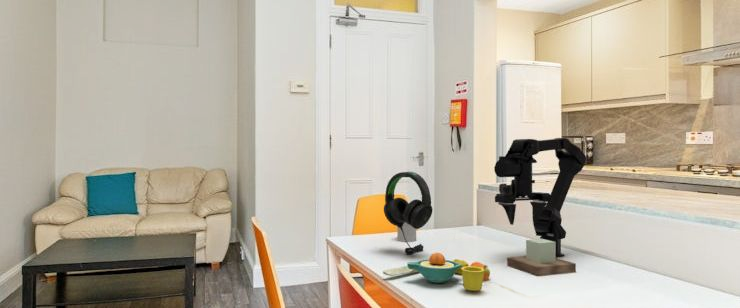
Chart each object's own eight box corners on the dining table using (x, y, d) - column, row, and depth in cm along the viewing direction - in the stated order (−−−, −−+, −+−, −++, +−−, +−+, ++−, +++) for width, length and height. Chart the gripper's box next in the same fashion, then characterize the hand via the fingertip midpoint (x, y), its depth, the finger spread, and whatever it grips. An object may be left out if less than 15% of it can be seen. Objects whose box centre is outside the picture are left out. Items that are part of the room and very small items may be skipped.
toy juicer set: (499, 277, 137) (499, 250, 137) (480, 293, 121) (480, 262, 121) (409, 266, 152) (409, 241, 152) (382, 278, 136) (382, 251, 136)
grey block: (415, 244, 185) (415, 213, 185) (396, 244, 187) (396, 213, 187) (417, 241, 193) (417, 211, 193) (398, 240, 194) (398, 211, 194)
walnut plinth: (543, 262, 155) (543, 254, 155) (575, 272, 142) (575, 263, 142) (507, 265, 150) (507, 257, 150) (537, 276, 137) (537, 267, 137)
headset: (379, 253, 169) (379, 171, 169) (404, 248, 178) (404, 170, 178) (418, 261, 156) (418, 172, 156) (443, 255, 166) (443, 171, 166)
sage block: (541, 257, 150) (541, 238, 150) (555, 261, 144) (555, 241, 144) (526, 259, 148) (526, 239, 148) (539, 263, 142) (539, 243, 142)
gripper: (530, 175, 169) (530, 219, 169) (485, 176, 163) (485, 222, 162) (552, 176, 159) (552, 223, 159) (505, 177, 152) (505, 226, 152)
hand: (523, 223), depth 158 cm, fingers open, 9 cm apart
